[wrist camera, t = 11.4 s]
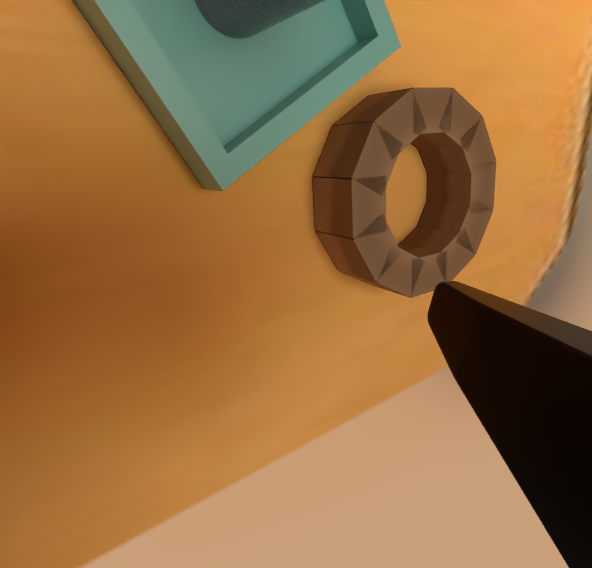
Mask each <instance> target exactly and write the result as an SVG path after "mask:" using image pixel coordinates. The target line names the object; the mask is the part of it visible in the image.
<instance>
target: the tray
mask: <svg viewBox="0 0 592 568" xmlns="http://www.w3.org/2000/svg"><path fill="white" fill-rule="evenodd" d="M73 2H74V3H75V5H76V6H77V7H78V9H79V10H80V12H81V13H82V15H83V16H84V17H85V19H86V20H87V22H88V23H89V25H90V26H91V27H92V29H93V30H94V32H95V33H96V35H97V36H98V37H99V39H100V40H101V42H102V43H103V45H104V46H105V48H106V49H107V50H108V52H109V53H110V55H111V56H112V58H113V59H114V60H115V62H116V63H117V65H118V66H119V68H120V69H121V70H122V72H123V73H124V75H125V76H126V78H127V79H128V80H129V82H130V83H131V85H132V86H133V88H134V89H135V90H136V92H137V93H138V95H139V96H140V98H141V99H142V101H143V102H144V103H145V105H146V106H147V108H148V109H149V111H150V112H151V113H152V115H153V116H154V118H155V119H156V121H157V122H158V123H159V125H160V126H161V128H162V129H163V131H164V132H165V133H166V135H167V136H168V138H169V139H170V141H171V142H172V143H173V145H174V146H175V148H176V149H177V151H178V152H179V154H180V155H181V156H182V158H183V159H184V161H185V162H186V164H187V165H188V166H189V168H190V169H191V171H192V172H193V174H194V175H195V176H196V178H197V179H198V181H199V182H200V184H201V185H202V186H203V188H205V189H213V190H221V191H223V190H225V189H226V188H227V187H228V186H230V185H231V184H232V183H233V182H234V181H236V180H237V179H238V178H239V177H241V176H242V175H243V174H244V173H246V172H247V171H248V170H249V169H250V168H252V167H253V166H254V165H255V164H257V163H258V162H259V161H260V160H262V159H263V158H264V157H265V156H266V155H268V154H269V153H270V152H271V151H273V150H274V149H275V148H276V147H278V146H279V145H280V144H281V143H283V142H284V141H285V140H286V139H287V138H289V137H290V136H291V135H292V134H294V133H295V132H296V131H297V130H299V129H300V128H301V127H302V126H303V125H305V124H306V123H307V122H308V121H310V120H311V119H312V118H313V117H315V116H316V115H317V114H318V113H319V112H321V111H322V110H323V109H324V108H326V107H327V106H328V105H329V104H331V103H332V102H333V101H334V100H335V99H337V98H338V97H339V96H340V95H342V94H343V93H344V92H345V91H347V90H348V89H349V88H350V87H351V86H353V85H354V84H355V83H356V82H358V81H359V80H360V79H361V78H363V77H364V76H365V75H366V74H368V73H369V72H370V71H371V70H372V69H374V68H375V67H376V66H377V65H379V64H380V63H381V62H382V61H384V60H385V59H386V58H387V57H388V56H390V55H391V54H392V53H393V52H395V51H396V50H397V49H398V48H400V47H401V45H400V42H399V40H398V37H397V34H396V32H395V29H394V26H393V23H392V21H391V18H390V15H389V13H388V10H387V7H386V5H385V2H384V0H325V1H323V2H321V3H319V4H317V5H315V6H313V7H311V8H309V9H307V10H305V11H303V12H300V13H298V14H296V15H294V16H292V17H290V18H288V19H286V20H284V21H282V22H280V23H278V24H276V25H274V26H272V27H270V28H268V29H266V30H264V31H262V32H260V33H258V34H256V35H254V36H251V37H249V38H243V39H237V38H232V37H228V36H226V35H224V34H222V33H220V32H219V31H217V30H216V29H215V28H213V27H212V26H211V25H210V24H209V23H208V22H207V21H206V19H205V18H204V17H203V15H202V14H201V12H200V10H199V8H198V6H197V4H196V2H195V0H73Z"/></svg>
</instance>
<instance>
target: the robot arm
mask: <svg viewBox="0 0 592 568" xmlns="http://www.w3.org/2000/svg"><path fill="white" fill-rule="evenodd" d="M428 323H429V326H430V328H431V330H432V332H433V334H434V336H435V338H436V340H437V343H438V345H439V347H440V349H441V351H442V353H443V355H444V357H445V360H446V362H447V364H448V366H449V368H450V370H451V372H452V374H453V376H454V378H455V380H456V381H457V383H458V385H459V387H460V388H461V390H462V392H463V393H464V395H465V397H466V398H467V400H468V402H469V403H470V405H471V407H472V408H473V410H474V411H475V413H476V415H477V417H478V418H479V420H480V421H481V423H482V425H483V426H484V428H485V430H486V431H487V433H488V435H489V436H490V438H491V440H492V441H493V443H494V445H495V446H496V448H497V450H498V451H499V453H500V454H501V456H502V458H503V460H504V461H505V463H506V464H507V466H508V468H509V469H510V471H511V473H512V474H513V476H514V478H515V479H516V481H517V483H518V484H519V486H520V488H521V489H522V491H523V493H524V494H525V496H526V498H527V499H528V501H529V502H530V504H531V506H532V507H533V509H534V511H535V512H536V514H537V516H538V517H539V519H540V521H541V522H542V524H543V525H544V527H545V529H546V531H547V532H548V534H549V536H550V537H551V539H552V541H553V542H554V544H555V545H556V547H557V549H558V550H559V552H560V554H561V555H562V557H563V559H564V560H565V561H566V563H567V565H568V567H569V568H592V331H590V330H587V329H584V328H581V327H579V326H576V325H573V324H570V323H568V322H565V321H562V320H560V319H557V318H554V317H551V316H549V315H546V314H544V313H541V312H538V311H535V310H532V309H530V308H527V307H525V306H522V305H519V304H516V303H514V302H511V301H508V300H506V299H503V298H500V297H497V296H495V295H492V294H489V293H487V292H484V291H481V290H479V289H476V288H473V287H470V286H468V285H465V284H462V283H460V282H456V281H447V282H440V283H438V284H437V285H436V287H435V290H434V293H433V297H432V300H431V304H430V307H429V311H428Z"/></svg>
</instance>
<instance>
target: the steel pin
mask: <svg viewBox="0 0 592 568" xmlns="http://www.w3.org/2000/svg"><path fill="white" fill-rule="evenodd" d="M323 1H325V0H195V2H196V4H197V6H198V8H199V10H200V12H201V14H202V15H203V17H204V18H205V19H206V21H207V22H208V23H209V24H210V25H211V26H212V27H213V28H215V29H216V30H217V31H219V32H220V33H222V34H224V35H226V36H228V37H232V38H237V39H243V38H249V37H251V36H254V35H256V34H258V33H260V32H262V31H264V30H266V29H268V28H270V27H272V26H274V25H276V24H278V23H280V22H282V21H284V20H286V19H288V18H290V17H292V16H294V15H296V14H298V13H300V12H303V11H305V10H307V9H309V8H311V7H313V6H315V5H317V4H319V3H321V2H323Z"/></svg>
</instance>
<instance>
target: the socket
mask: <svg viewBox="0 0 592 568" xmlns="http://www.w3.org/2000/svg"><path fill="white" fill-rule="evenodd" d="M410 143H411V144H412V145H414V146H415V147H416V148H418V150H419V153H420V155H421V158H422V160H423V163H424V165H425V168H426V170H427V173H428V175H427V202H426V205H425V207H424V210H423V213H422V215H421V218H420V220H419V223H418V225H417V227H416V228H415V229H414V230H413V231H412V232H411V233H410V234H409V235H408V236H407V237H406V238H405V239H404V240H403V241H402V242H401V243H400V244H398V245H397V243H396V241H395V239H394V236H393V234H392V232H391V230H390V228H389V226H388V224H387V222H386V185H387V182H388V180H389V177H390V175H391V172H392V170H393V167H394V164H395V162H396V159H397V157H398V154H399V153H400V152H401V151H402V150H403V149H404V148H405V147H407V146H408V145H409V144H410ZM495 172H496V158H495V155H494V152H493V148H492V145H491V142H490V139H489V135H488V132H487V129H486V125H485V122H484V119H483V117H482V115H481V114H480V113H479V112H478V111H477V110H476V109H475V108H474V107H473V106H472V105H471V104H470V103H468V102H467V101H466V100H465V99H464V98H463V97H462V96H461V95H460V94H459V93H458V92H457V91H456V90H455V89H454V88H409V89H403V90H397V91H391V92H386V93H380V94H374V95H369V96H367V97H366V98H365V99H364V100H362V101H361V102H360V103H359V104H358V105H356V106H355V107H354V108H353V109H352V110H350V111H349V112H348V113H347V114H346V115H344V116H343V117H342V118H341V119H340V120H338V121H337V122H336V123H335V124H334V125H333V126H332V128H331V131H330V133H329V136H328V138H327V141H326V143H325V146H324V148H323V151H322V153H321V156H320V159H319V161H318V164H317V166H316V169H315V171H314V174H313V176H314V177H313V178H312V179H313V198H314V217H315V230H316V233H317V235H318V237H319V238H320V240H321V242H322V244H323V245H324V247H325V249H326V250H327V252H328V254H329V256H330V257H331V259H332V261H333V262H334V264H335V266H336V267H337V269H338V270H339V271H341V272H343V273H345V274H348V275H350V276H352V277H355V278H357V279H359V280H361V281H364V282H366V283H368V284H370V285H373V286H376V287H379V288H382V289H385V290H389V291H392V292H395V293H398V294H401V295H404V296H407V297H411V298H412V297H415V296H418V295H421V294H425V293H428V292H431V291H434V290H435V287H436V285H437V284H438V283H440V282H447V281H452V280H453V279H454V278H455V277H456V276H457V275H458V274H459V272H460V271H461V270H462V269H463V268H464V267H465V266H466V265H467V264H468V263H469V262H470V260H471V259H472V258H473V257H474V256H475V254H476V253H477V250H478V247H479V245H480V242H481V240H482V237H483V235H484V232H485V230H486V227H487V225H488V222H489V220H490V217H491V215H492V212H493V211H492V210H493V205H494V189H495Z"/></svg>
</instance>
